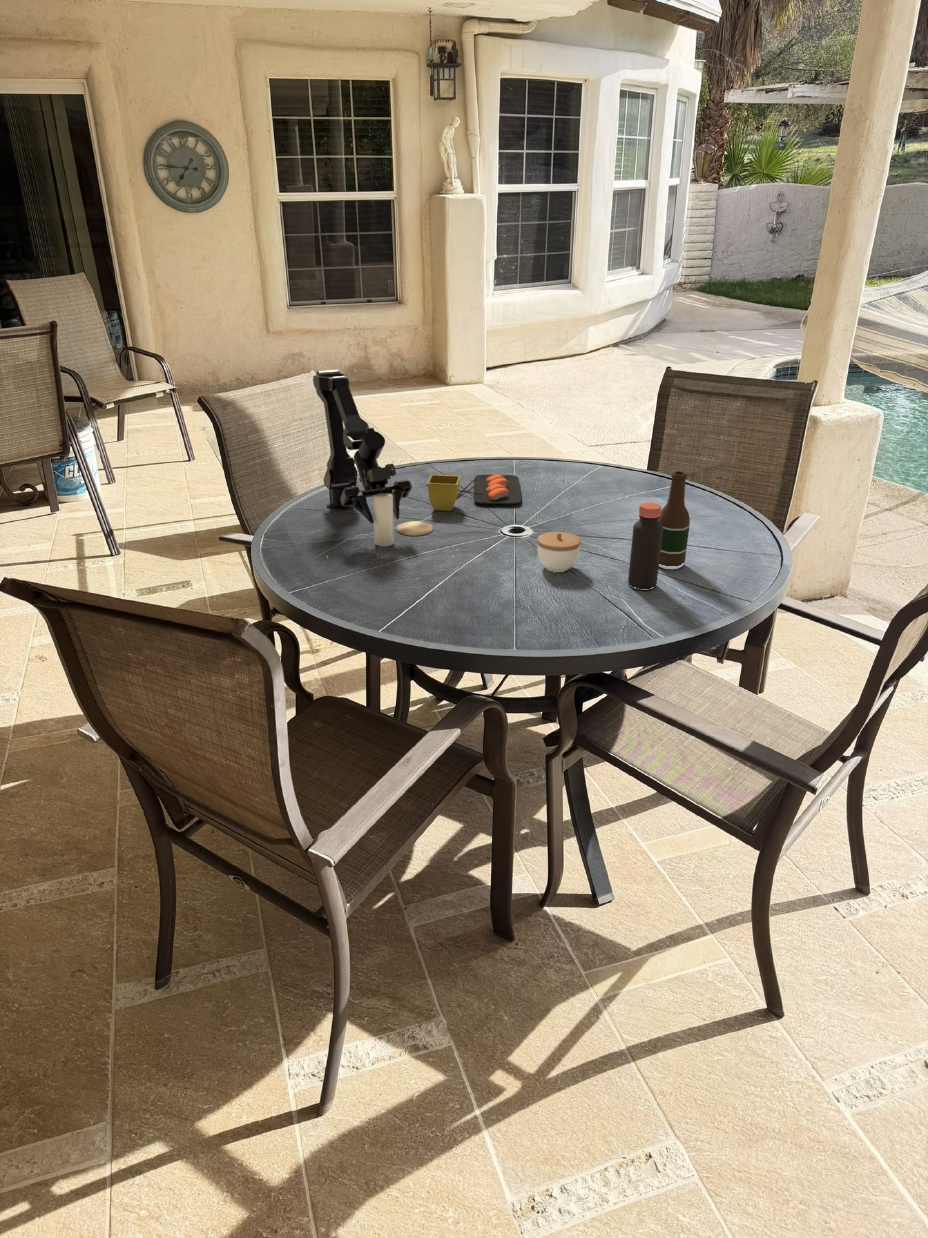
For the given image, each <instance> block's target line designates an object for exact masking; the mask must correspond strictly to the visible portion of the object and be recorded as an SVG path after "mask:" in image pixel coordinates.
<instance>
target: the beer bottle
mask: <svg viewBox="0 0 928 1238" xmlns="http://www.w3.org/2000/svg"><path fill="white" fill-rule="evenodd" d="M670 477H671V481H670V482H671V483H670V486H669V487H670V489H669V494H668V499H667V502H666V504H665V505H664V506H663V508H661V515H660V518H659V519H658V521H659V522H660V524H661V525H662V527H663V534H662V543H661V551H660V560H659V564H661V565H665V566H679V565H681V564H682V563H684V562H686V558H687V557H686V556H687V549H688V548H687V547H688V541H689V540H688V539H689V534H690V526H691V525H690V524H691V523H690V521H691V518H690V513H689V511H688V509H687V507H686V506H685V495H686V494H685V493H686V480H687V479H688V475H687V473H686V472H685V471H673V472H672V473H671V476H670ZM684 564H685V563H684Z"/></svg>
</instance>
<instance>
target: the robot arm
mask: <svg viewBox="0 0 928 1238" xmlns="http://www.w3.org/2000/svg"><path fill="white" fill-rule="evenodd" d="M348 378H349V377H348V376H347V374H346V373H341V372H340V370H339V369H330V370H329V369H328V370H317V371H316V373H315V375H313V377H312V383H313V387H314V388H315V392H316V395H317V396H318V397H319V399H320V400H321V402H323V408H324V414H325V421H326V428H327V435H328V443H329V449H330V455H329V458H328V460H327V461H326V471H325V474H324V477H323V485H324V487H326V489H328V493H329V503H328V504H326V507H327V508H330V509H335V510H340V511H346V510H348V509H349V507H350V508H351V509H356V510H357V511H358V512H359V513H360V514H361V515H362V516H364V518H365V519H366V520H367V521H368V522H369V523H370V524H371V525H374V518H373V515H372V514H373V513H372V512H371V509H370V506H369V504H368V499H367V498H373V495H375V494H380V493H387V494H391V495H392V496H393V516H394V518H395V519H396V520H397V521H398V520H399V519H400V505H401V503H400V502H401V500H402V499H406V498H407V497H408V496H409V494H410V492H411V490H412V489H413V486H412V482H411V481H410V480H408V478H407V479H401V480H395V481H394V483H393V485H391V486H386V485H388V483H389V480H391V477H394V476H396V475H397V472H396V467H395V465H394V463H387V464H385V465H384V467H382V466H379V463H378V458H380V455H381V454H382V451H383V449H384V446H385V445H386V439H385V437H384V436H383V435H382V434H381V433H380V432H379V431H375V429H374V427H370V426H369V424H368V422H367V421H366V420H364V419H363V418H361V415H360V413H359V410H358V409H357V405H356V402H355V399H354V397H353V394H352V391H351V388H350V380H349V379H348ZM347 450H350V451H355V450H356V451H355V452H354V455H353V456H351V455H350V454H349V453H348V451H347ZM358 476H359V478H358ZM358 481H359V483H361V485H362V488H363V490H361V489H360V487H359V486H358V485H357V482H358Z"/></svg>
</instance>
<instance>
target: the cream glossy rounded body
mask: <svg viewBox="0 0 928 1238" xmlns="http://www.w3.org/2000/svg"><path fill="white" fill-rule="evenodd" d="M372 512H373V513H372V514H373V515H372V517H373V521H374V523H373V534H374V536H373V537H374V539H373V540H374V542H373V543H374V545H375V546H377V545H378V547H390V546H393V545H394V543H395V532H394V530H395V527H394V526H395V525H394V512H393V496H392V495H391V494H387V493H380V494H375V495H373V497H372Z"/></svg>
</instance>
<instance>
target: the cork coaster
mask: <svg viewBox="0 0 928 1238" xmlns="http://www.w3.org/2000/svg"><path fill="white" fill-rule="evenodd" d="M433 529H434V527H433V525H432V524H431V523H429V522H424V521H417V520H416V521H405V522H402V523H400V524H398V525H397V526H396V531H397V533H399V534H401V535H405V536H411V537H412V536H413V537H415V536H416V537H417V536H425V535H428V534H430V533H432V532H433Z"/></svg>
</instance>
